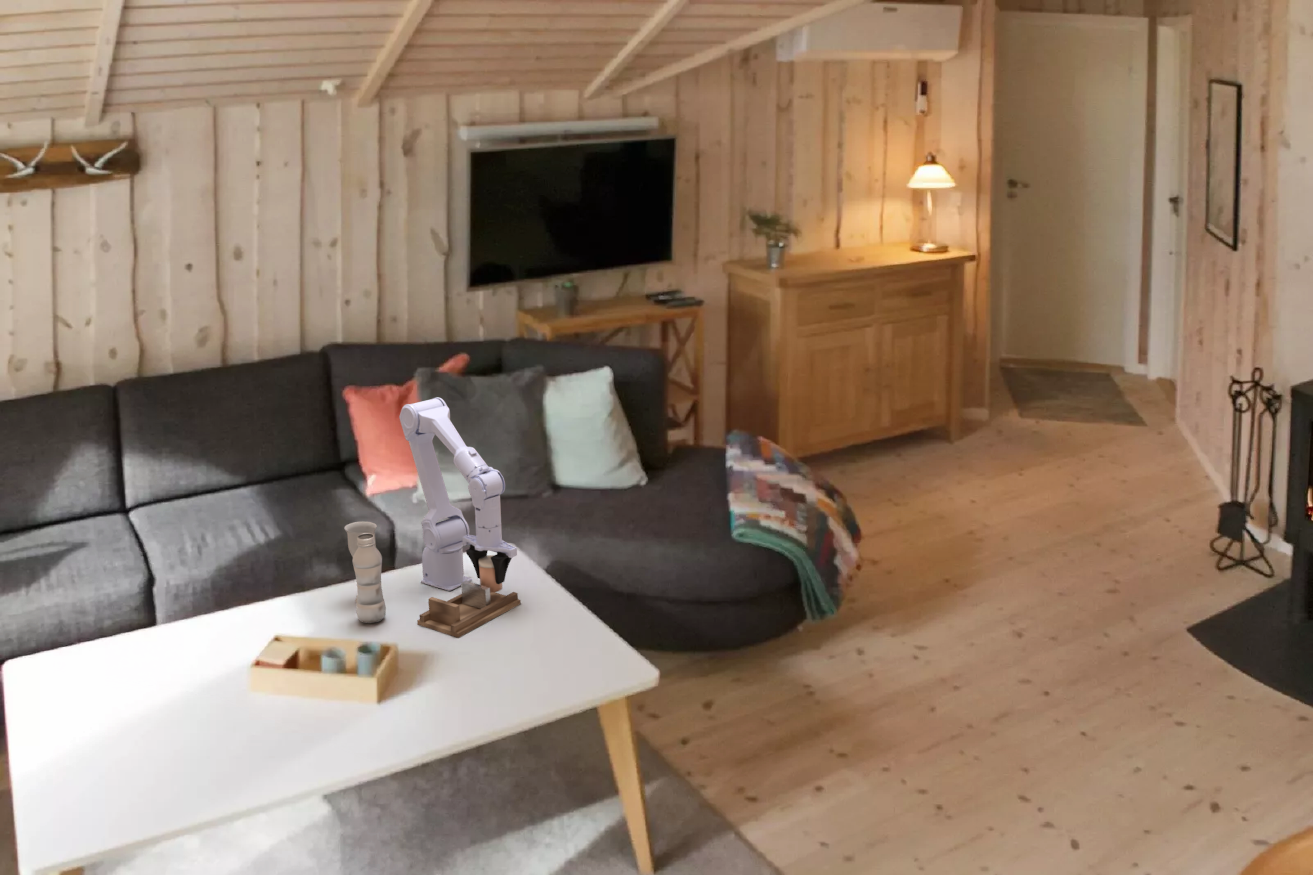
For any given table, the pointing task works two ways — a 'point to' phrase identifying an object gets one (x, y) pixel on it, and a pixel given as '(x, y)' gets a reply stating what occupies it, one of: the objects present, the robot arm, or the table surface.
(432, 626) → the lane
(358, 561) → the plastic bottle
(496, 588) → the jar
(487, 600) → the plate
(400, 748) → the table surface
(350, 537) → the chalice
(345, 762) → the table surface
